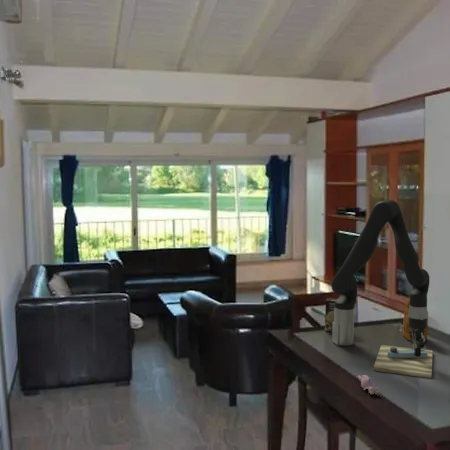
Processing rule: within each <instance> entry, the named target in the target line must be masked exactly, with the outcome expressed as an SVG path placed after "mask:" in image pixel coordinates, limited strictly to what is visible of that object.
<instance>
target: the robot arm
mask: <svg viewBox="0 0 450 450" xmlns="http://www.w3.org/2000/svg"><path fill="white" fill-rule="evenodd" d="M399 205H400V204H398V202H397V201H395V200H393V199H386V200H381V201H378V202H376V203H375V204H374V206H373V208H372V209H371V212H370V214H369V217H368V219H367V222H366V224H365V225H364V227H363V229H362V230H361V232H360V234H359V236H358V238H357V239H356V241H355V242H354V244H353V246H352V248H351V250H350V251H349V253H348V255H347V257H346V259H345V260H344V262H343V264H342V266H341V267H340V268H339V270H338V271H337V272H336V274H335V275H334V277H333V279H332V280H331V290H332V292H333V293H334V294H336V295H338V296H339V297H338V298H336V299H337V300H336V301H335V310H334V322H333V323H332V332H331V334H332V336H331V338H332V339H331V342H332V343H334V344H335V345H336V346H352V345H353V344H354V340H355V339H354V336H355V335H354V334H355V333H354V332H355V330H354V329H355V305H356V302H357V299H358V298H357V296H358V282H357V281H358V280H357V278H356V276H355V275H356V273H357V272H358V271H359V270H361V269H362V268H363V267H364V266H365V265H366V264H367V263H368V262H369V261H370V260H371V258H372V256H373V255H374V252H375V251H376V249H377V246H378V240H379V235H380V233H381V231H382V230H383V228H384V227H385V225H386V224H387V223H388V224H389V226H390V227H391V229H392V233H393V238H394V246H395V249H396V253H397V255H398V258H399V260H400V261H401V264H402V266H403V270H404V273H405V277H406V280H407V282H408V283H409V285H410V286H412V289H411V290H412V291H411V292H410V294H409V298H410V307H409V327H411V328H412V331H409V334H410V338H411V341H410V343H411V342H412V344H414V355H415V356H416V357H420V356H421V350H422V349H421V348H424V346H426V344H427V342H428V337H427V338H424V329H425V328H427V327H428V325H427V319H428V320H429V312H428V292H429V288H430V279H431V278H430V274H429V272H428V271H427V270H425V269H424V268H420V264H419V261H420V259H419V256H418V253H417V252H416V250H415V247H414V244H413V243H412V241H411V239H410V235H409V233H408V230H407V228H406V224H405V221H404V218H403V214H402V211H401V208H400V206H399ZM424 349H425V348H424Z"/></svg>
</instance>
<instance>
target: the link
mask: <svg viewBox="0 0 450 450" xmlns="http://www.w3.org/2000/svg"><path fill="white" fill-rule="evenodd" d="M424 350H425V349H421V356H420V357H416V356H415V355H414V350H397V352H391V351H390V350H388V354H387V356H388V357H390V358H427V352H426V351H424Z"/></svg>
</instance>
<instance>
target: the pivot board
mask: <svg viewBox="0 0 450 450" xmlns="http://www.w3.org/2000/svg"><path fill="white" fill-rule="evenodd" d="M388 350H390V351H391V352H397V350H412V347H411V348H410V347H405V346H404V347H403V346H395V345H387V344H386V345H385V344H381V345H380V348H379V350H378V353H377V356H376V358H375V359H376V360H375V362H374V365H373V371H374V372H375V371H376V372H383V373H389V374H390V373H392V374H397V375H405V376H406V375H407V376H413V377H420V378H428V379H432V375H433V374H432V372H433V371H432V369H433V353H434V352H433V350H429V349H423V350H424V351H426V352H427V358H390V357H388V356H387V354H388Z"/></svg>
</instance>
